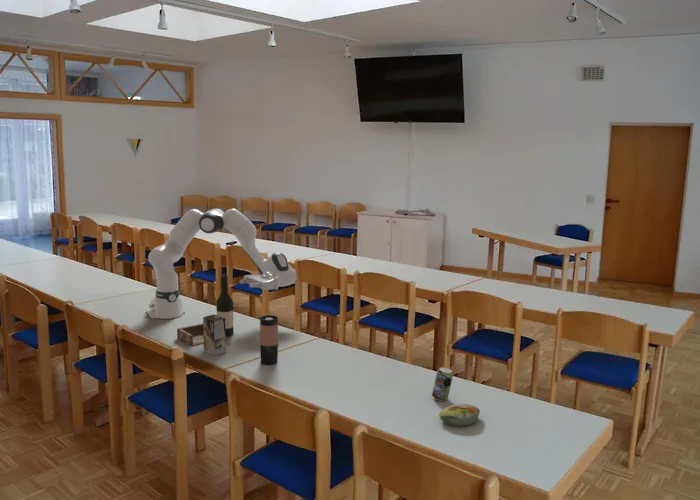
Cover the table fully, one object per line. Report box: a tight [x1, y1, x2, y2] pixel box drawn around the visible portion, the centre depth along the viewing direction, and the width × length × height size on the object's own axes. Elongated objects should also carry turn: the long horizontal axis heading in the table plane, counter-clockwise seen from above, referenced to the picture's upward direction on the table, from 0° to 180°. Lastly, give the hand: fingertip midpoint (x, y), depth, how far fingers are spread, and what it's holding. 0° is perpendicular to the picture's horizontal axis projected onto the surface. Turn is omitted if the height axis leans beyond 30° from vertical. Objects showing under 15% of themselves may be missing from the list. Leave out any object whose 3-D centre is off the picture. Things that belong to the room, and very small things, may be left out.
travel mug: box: [259, 315, 279, 366], centre depth 265 cm, size 8×8×20 cm
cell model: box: [438, 403, 481, 426], centre depth 214 cm, size 11×8×15 cm
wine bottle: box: [215, 273, 235, 338], centre depth 300 cm, size 8×8×30 cm
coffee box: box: [202, 314, 227, 356], centre depth 277 cm, size 9×6×16 cm
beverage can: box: [431, 366, 454, 402], centre depth 231 cm, size 6×7×12 cm
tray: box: [176, 323, 204, 347], centre depth 294 cm, size 14×14×5 cm
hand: (245, 283), depth 306 cm, fingers open, 8 cm apart
